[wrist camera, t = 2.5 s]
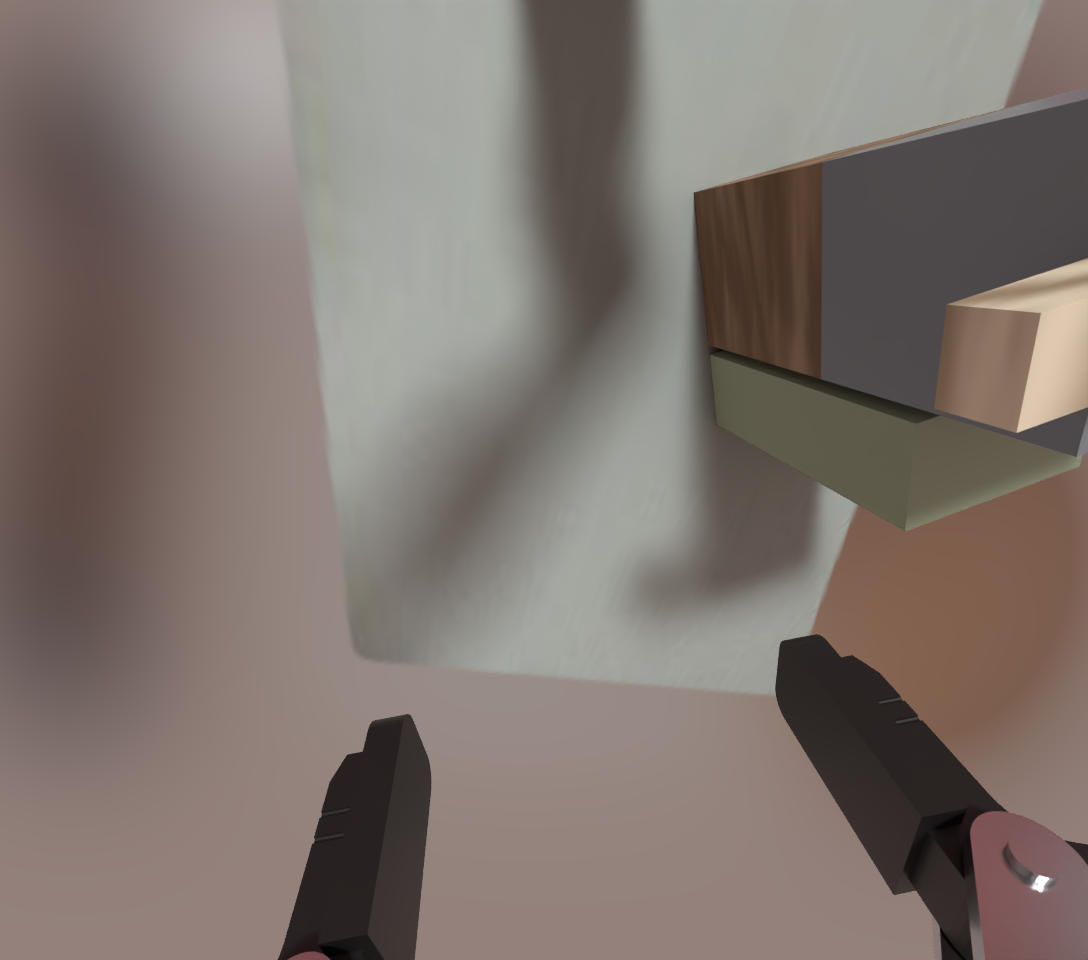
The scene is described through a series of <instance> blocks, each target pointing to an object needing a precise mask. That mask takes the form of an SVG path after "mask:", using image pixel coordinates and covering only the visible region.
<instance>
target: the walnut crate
mask: <svg viewBox="0 0 1088 960" xmlns="http://www.w3.org/2000/svg"><path fill="white" fill-rule="evenodd" d="M1009 108H1011V107H1009ZM1006 109H1007V108H1006ZM1002 110H1004V109H1002ZM998 111H1000V110H998ZM994 112H997V111H994ZM990 113H993V112H990ZM990 113H986V114H990ZM986 114H982V115H978V116H974V117H970V118H966V119H962V120H959V121H955V122H951V123H947V124H943V125H939V126H935V127H931V128H927V129H923V130H919V131H915V132H911V133H908V134H904V135H900V136H896V137H892V138H888V139H884V140H880V141H876V142H872V143H868V144H864V145H860V146H857V147H853V148H849V149H845V150H841V151H837V152H833V153H829V154H826V155H823V156H819V157H816V158H812V159H809V160H805V161H802V162H798V163H795V164H791V165H788V166H784V167H781V168H778V169H774V170H771V171H767V172H764V173H760V174H757V175H753V176H750V177H746V178H743V179H739V180H736V181H733V182H729V183H726V184H722V185H719V186H715V187H712V188H708V189H705V190H701V191H698V192H694V197H695V207H696V218H697V228H698V238H699V248H700V259H701V269H702V279H703V290H704V300H705V310H706V320H707V331H708V341H709V345H710V346H713V347H717V348H720V349H723V350H727V351H730V352H733V353H736V354H740V355H743V356H746V357H750V358H753V359H756V360H759V361H763V362H766V363H769V364H773V365H776V366H779V367H782V368H786V369H789V370H792V371H796V372H799V373H802V374H805V375H809V376H812V377H815V378H819V379H821V312H822V172H823V162H824V161H828V160H831V159H835V158H838V157H842V156H845V155H849V154H852V153H855V152H859V151H862V150H866V149H869V148H873V147H876V146H880V145H883V144H886V143H890V142H893V141H897V140H900V139H904V138H907V137H911V136H914V135H917V134H921V133H924V132H928V131H931V130H935V129H938V128H942V127H945V126H948V125H952V124H955V123H959V122H962V121H966V120H969V119H973V118H976V117H979V116H983V115H986Z"/></svg>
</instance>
